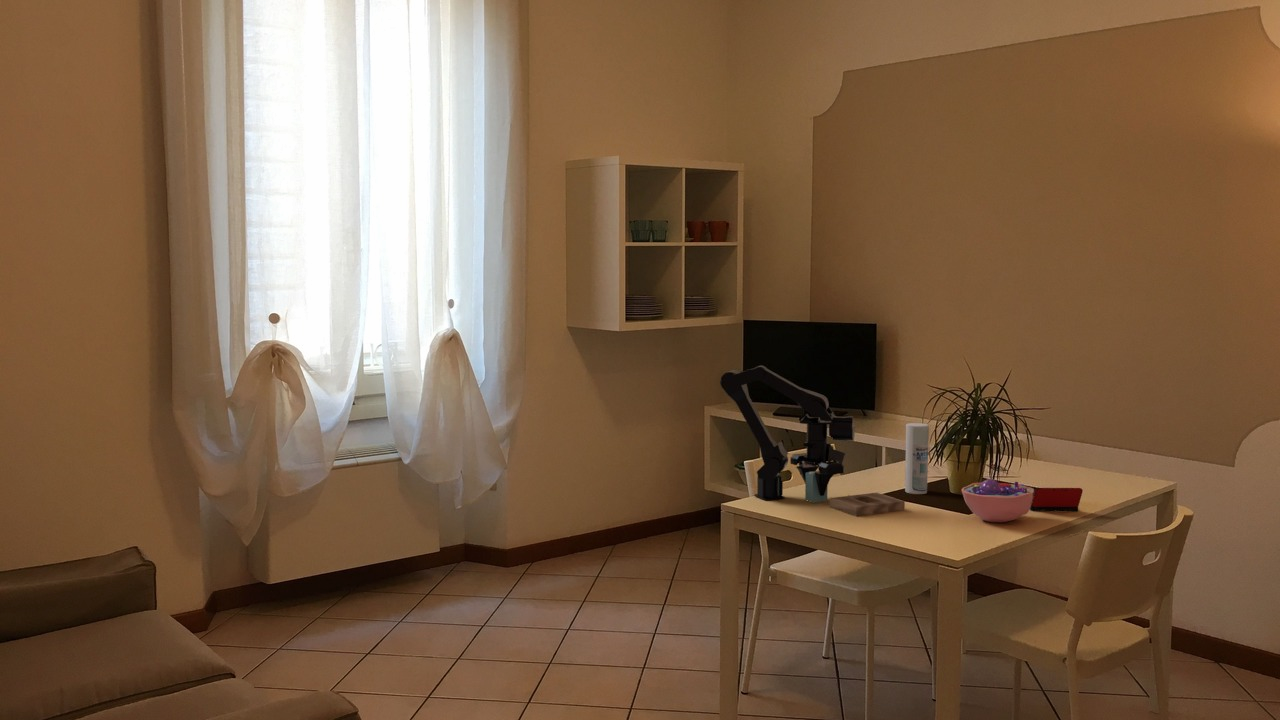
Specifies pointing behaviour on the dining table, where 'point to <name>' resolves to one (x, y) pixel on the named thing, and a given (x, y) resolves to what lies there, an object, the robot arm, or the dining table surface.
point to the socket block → (867, 504)
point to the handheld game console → (1056, 499)
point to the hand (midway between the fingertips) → (816, 493)
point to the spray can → (916, 458)
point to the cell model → (998, 500)
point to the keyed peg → (813, 489)
